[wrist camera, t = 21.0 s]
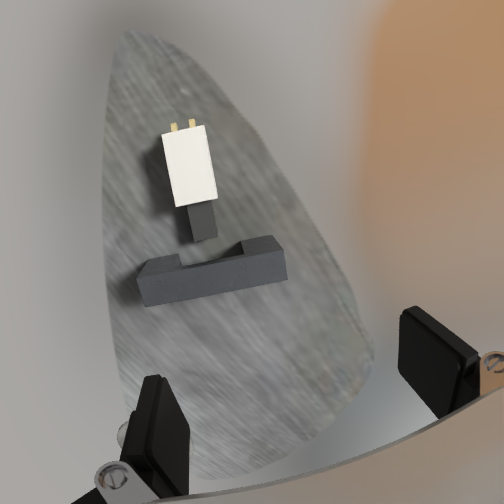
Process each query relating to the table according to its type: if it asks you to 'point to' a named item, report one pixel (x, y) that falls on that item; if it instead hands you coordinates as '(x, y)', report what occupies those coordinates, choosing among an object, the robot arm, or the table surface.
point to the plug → (192, 177)
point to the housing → (212, 273)
